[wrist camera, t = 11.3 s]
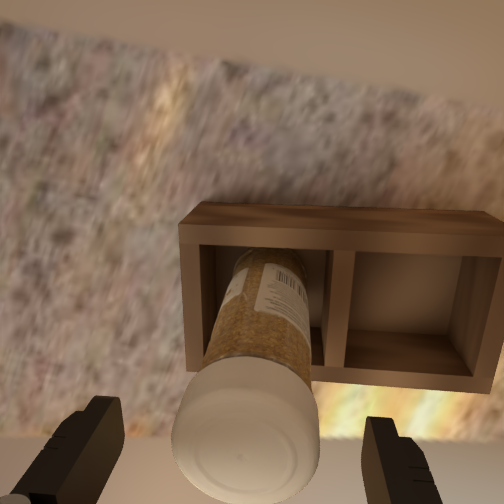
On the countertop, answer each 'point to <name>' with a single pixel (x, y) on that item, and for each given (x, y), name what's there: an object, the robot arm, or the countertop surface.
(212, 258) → the spice caddy
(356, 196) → the countertop surface
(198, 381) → the sprinkles bottle
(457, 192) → the countertop surface
